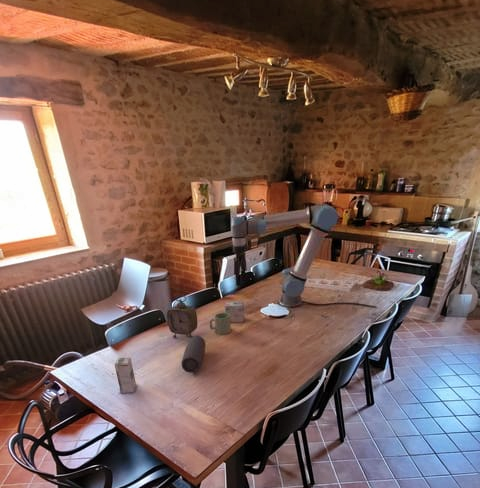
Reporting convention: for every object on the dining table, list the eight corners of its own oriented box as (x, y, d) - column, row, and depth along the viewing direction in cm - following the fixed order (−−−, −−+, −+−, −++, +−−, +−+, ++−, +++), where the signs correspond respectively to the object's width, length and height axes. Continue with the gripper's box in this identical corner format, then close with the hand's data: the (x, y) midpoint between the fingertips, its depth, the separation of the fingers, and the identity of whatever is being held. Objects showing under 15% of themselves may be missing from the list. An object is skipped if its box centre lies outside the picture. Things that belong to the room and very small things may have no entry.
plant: (369, 280, 275) (371, 266, 270) (396, 284, 265) (398, 269, 259) (360, 288, 261) (362, 272, 256) (388, 292, 251) (390, 276, 245)
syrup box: (123, 386, 160) (116, 357, 153) (136, 385, 160) (130, 356, 153) (120, 393, 155) (113, 364, 148) (134, 392, 155) (127, 363, 148)
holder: (291, 284, 276) (291, 281, 275) (300, 278, 289) (300, 274, 288) (349, 291, 255) (350, 288, 254) (356, 284, 268) (357, 281, 267)
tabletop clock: (170, 338, 201) (163, 295, 189) (178, 332, 208) (172, 290, 196) (193, 341, 196) (188, 297, 184) (200, 334, 204) (195, 292, 192)
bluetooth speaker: (189, 352, 185) (187, 334, 180) (207, 351, 185) (205, 334, 180) (181, 375, 166) (178, 356, 161) (201, 375, 165) (199, 355, 160)
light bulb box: (244, 318, 222) (243, 301, 217) (243, 322, 216) (242, 305, 211) (227, 318, 223) (226, 301, 218) (225, 322, 217) (224, 305, 212)
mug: (229, 327, 211) (228, 312, 206) (231, 333, 204) (230, 317, 199) (209, 329, 210) (208, 314, 205) (211, 335, 202) (209, 319, 197)
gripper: (239, 241, 220) (241, 277, 231) (226, 248, 202) (229, 288, 214) (251, 241, 217) (252, 278, 228) (239, 249, 200) (240, 288, 211)
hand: (241, 283), depth 221 cm, fingers open, 8 cm apart
